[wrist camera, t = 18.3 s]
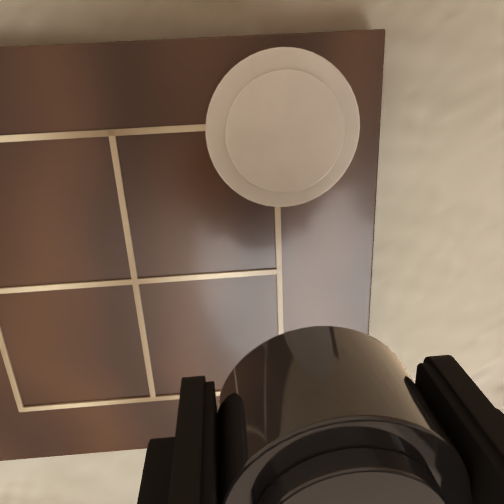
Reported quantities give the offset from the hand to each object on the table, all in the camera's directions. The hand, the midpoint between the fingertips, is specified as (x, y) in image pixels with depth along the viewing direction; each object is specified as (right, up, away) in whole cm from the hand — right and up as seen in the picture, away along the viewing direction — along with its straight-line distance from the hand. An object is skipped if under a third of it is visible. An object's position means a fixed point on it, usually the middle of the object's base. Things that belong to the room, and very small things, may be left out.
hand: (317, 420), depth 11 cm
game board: (-7, +3, +9) cm, 12 cm away
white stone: (-1, +9, +6) cm, 11 cm away
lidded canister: (0, 0, 0) cm, 0 cm away
